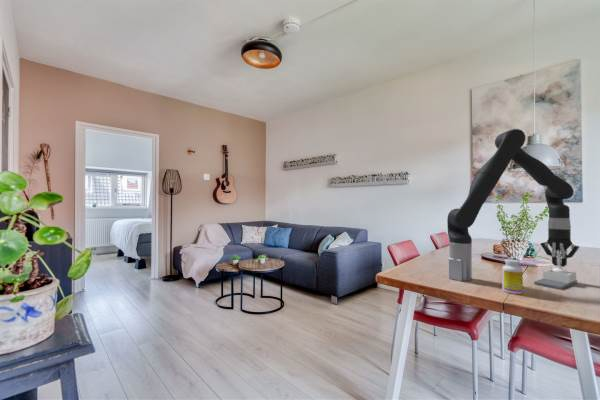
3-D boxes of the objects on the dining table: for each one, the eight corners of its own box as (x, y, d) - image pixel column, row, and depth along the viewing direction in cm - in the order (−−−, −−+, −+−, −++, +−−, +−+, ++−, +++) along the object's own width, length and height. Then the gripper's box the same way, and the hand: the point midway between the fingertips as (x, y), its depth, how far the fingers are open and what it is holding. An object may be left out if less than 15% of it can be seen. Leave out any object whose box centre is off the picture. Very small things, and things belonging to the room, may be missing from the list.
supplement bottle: (525, 295, 112) (525, 262, 112) (505, 293, 114) (505, 261, 114) (519, 290, 118) (518, 259, 118) (500, 288, 120) (499, 258, 120)
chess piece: (549, 270, 132) (549, 248, 132) (559, 270, 133) (558, 248, 133) (559, 272, 127) (559, 250, 127) (570, 272, 128) (569, 250, 128)
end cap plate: (560, 289, 118) (560, 278, 118) (534, 284, 126) (534, 273, 126) (576, 282, 129) (576, 272, 129) (551, 278, 137) (551, 268, 137)
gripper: (537, 227, 134) (537, 264, 134) (576, 229, 122) (577, 270, 122) (543, 226, 138) (543, 262, 138) (582, 228, 126) (582, 267, 126)
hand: (559, 265), depth 130 cm, fingers closed on chess piece
